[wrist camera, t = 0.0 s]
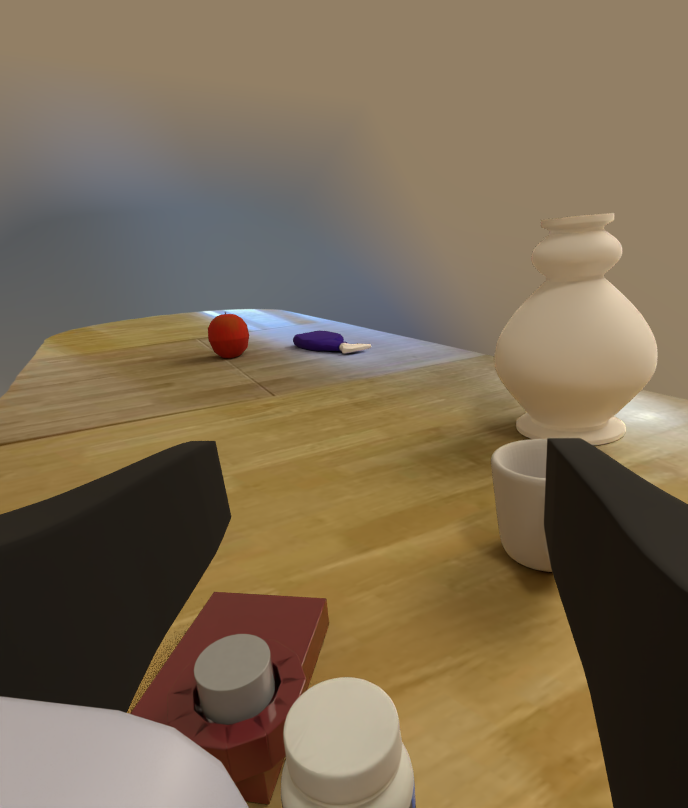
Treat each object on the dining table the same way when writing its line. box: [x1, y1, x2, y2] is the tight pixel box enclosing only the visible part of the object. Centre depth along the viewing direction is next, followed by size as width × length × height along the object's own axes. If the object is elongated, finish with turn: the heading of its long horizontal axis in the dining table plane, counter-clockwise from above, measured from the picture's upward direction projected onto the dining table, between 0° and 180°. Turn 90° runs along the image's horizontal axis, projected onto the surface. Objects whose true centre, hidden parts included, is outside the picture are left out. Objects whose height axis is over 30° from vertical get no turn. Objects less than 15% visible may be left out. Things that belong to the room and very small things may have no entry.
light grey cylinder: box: [194, 634, 275, 725], centre depth 25 cm, size 4×4×2 cm
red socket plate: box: [130, 592, 329, 804], centre depth 29 cm, size 13×9×4 cm
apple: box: [208, 312, 249, 358], centre depth 133 cm, size 10×10×12 cm
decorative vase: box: [495, 213, 657, 445], centre depth 62 cm, size 18×18×25 cm
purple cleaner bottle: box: [293, 331, 371, 353], centre depth 133 cm, size 3×11×24 cm
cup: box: [491, 439, 552, 572], centre depth 38 cm, size 11×8×8 cm
